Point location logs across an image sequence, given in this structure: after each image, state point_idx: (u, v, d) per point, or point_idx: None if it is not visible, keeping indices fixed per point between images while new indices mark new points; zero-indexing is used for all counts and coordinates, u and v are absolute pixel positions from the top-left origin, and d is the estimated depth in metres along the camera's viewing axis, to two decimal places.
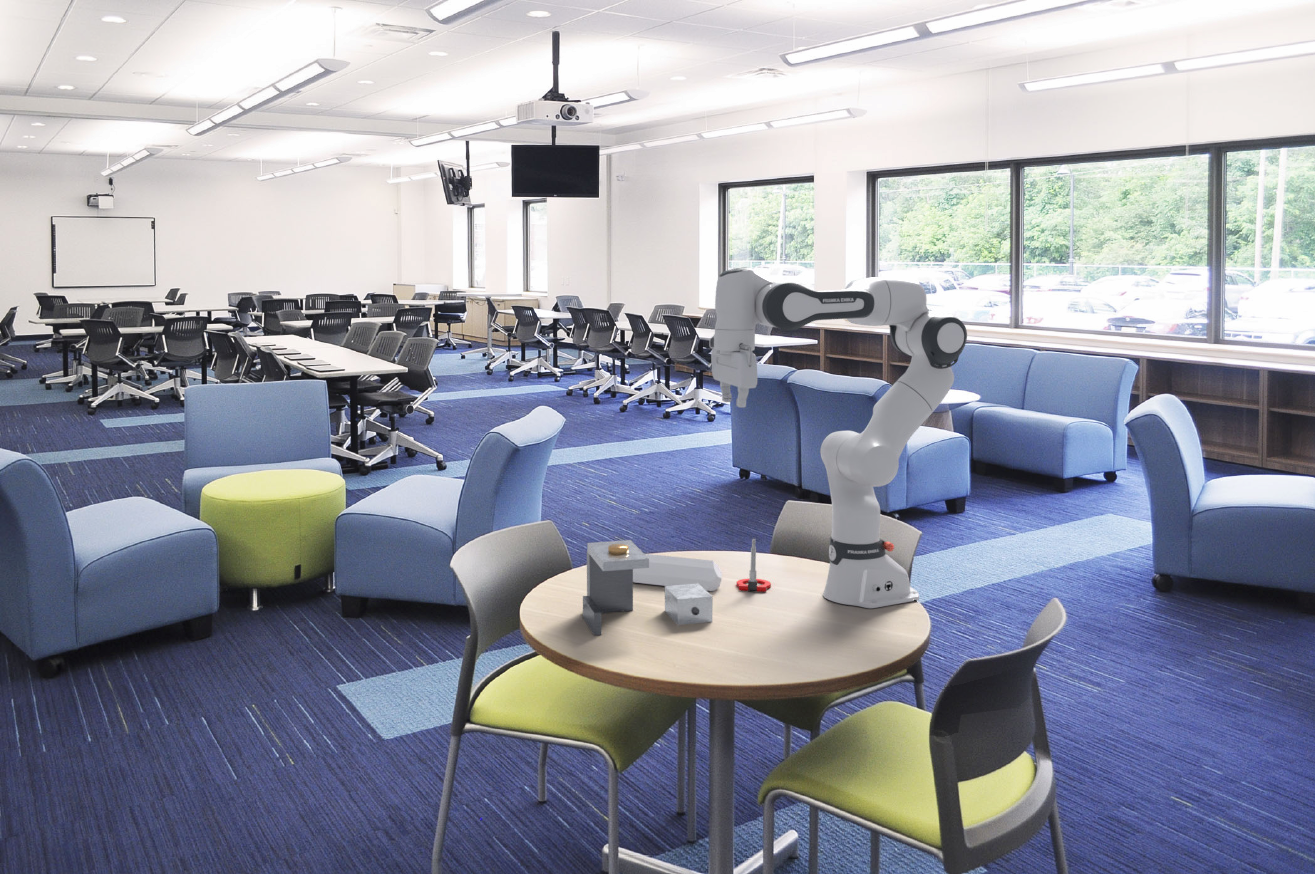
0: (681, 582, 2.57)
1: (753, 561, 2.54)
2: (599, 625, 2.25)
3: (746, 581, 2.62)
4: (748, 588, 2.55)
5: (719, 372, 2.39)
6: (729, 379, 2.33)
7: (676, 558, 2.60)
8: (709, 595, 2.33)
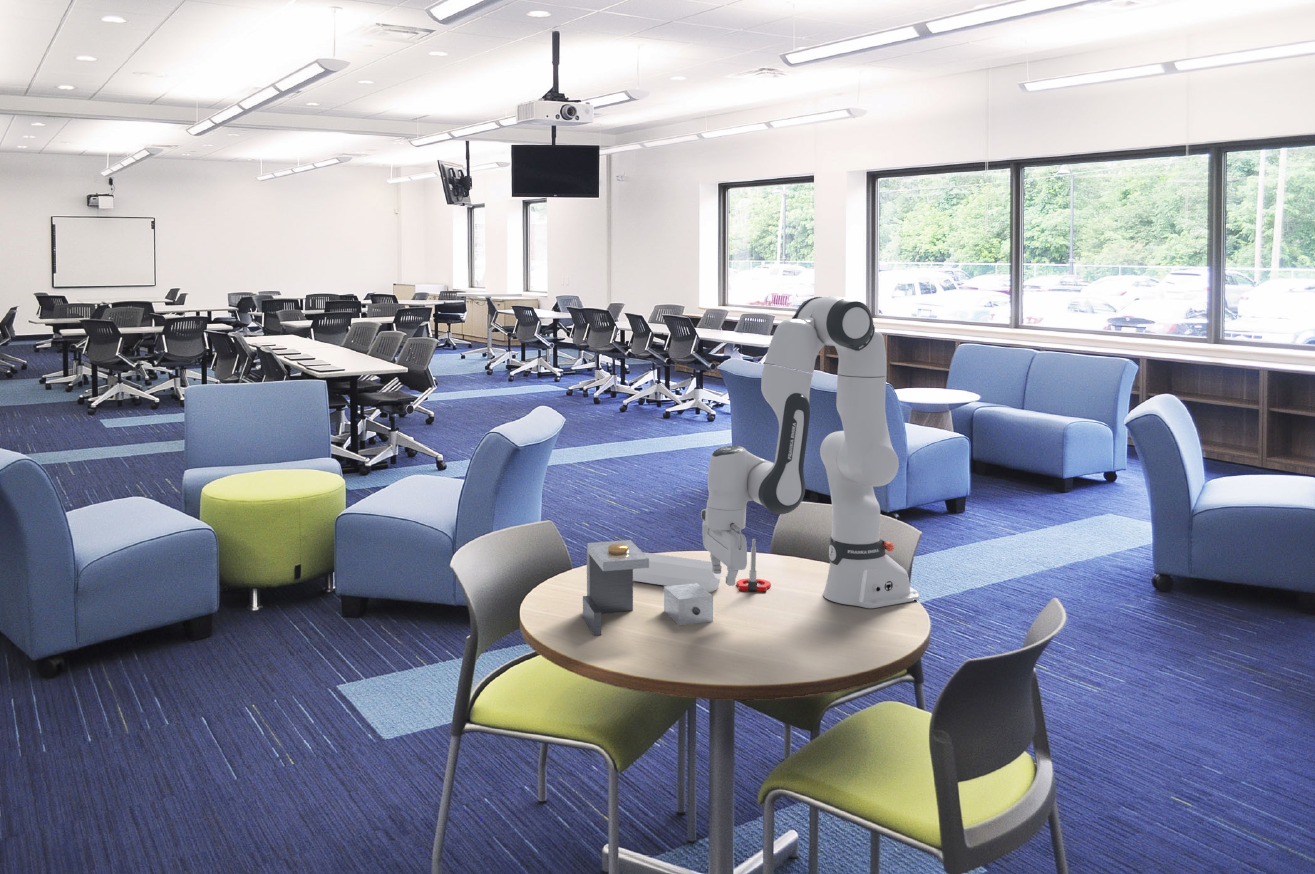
0: (679, 582, 2.57)
1: (753, 561, 2.54)
2: (599, 625, 2.25)
3: (746, 581, 2.62)
4: (748, 588, 2.55)
5: (710, 544, 2.41)
6: (719, 556, 2.35)
7: (676, 558, 2.60)
8: (709, 595, 2.34)
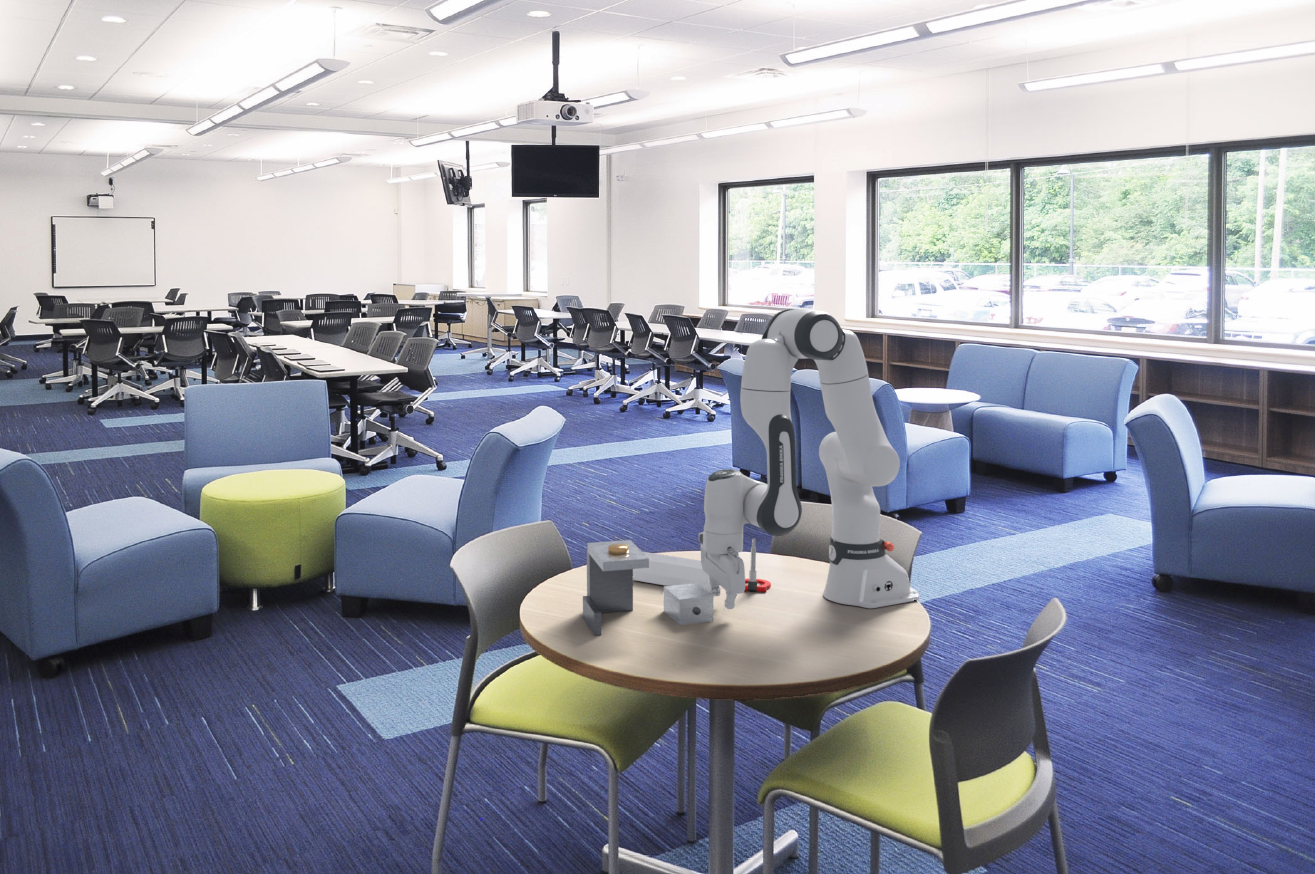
0: (678, 583, 2.57)
1: (753, 561, 2.54)
2: (599, 625, 2.25)
3: (746, 581, 2.62)
4: (748, 588, 2.55)
5: (708, 567, 2.42)
6: (717, 579, 2.36)
7: (676, 558, 2.60)
8: (710, 595, 2.34)
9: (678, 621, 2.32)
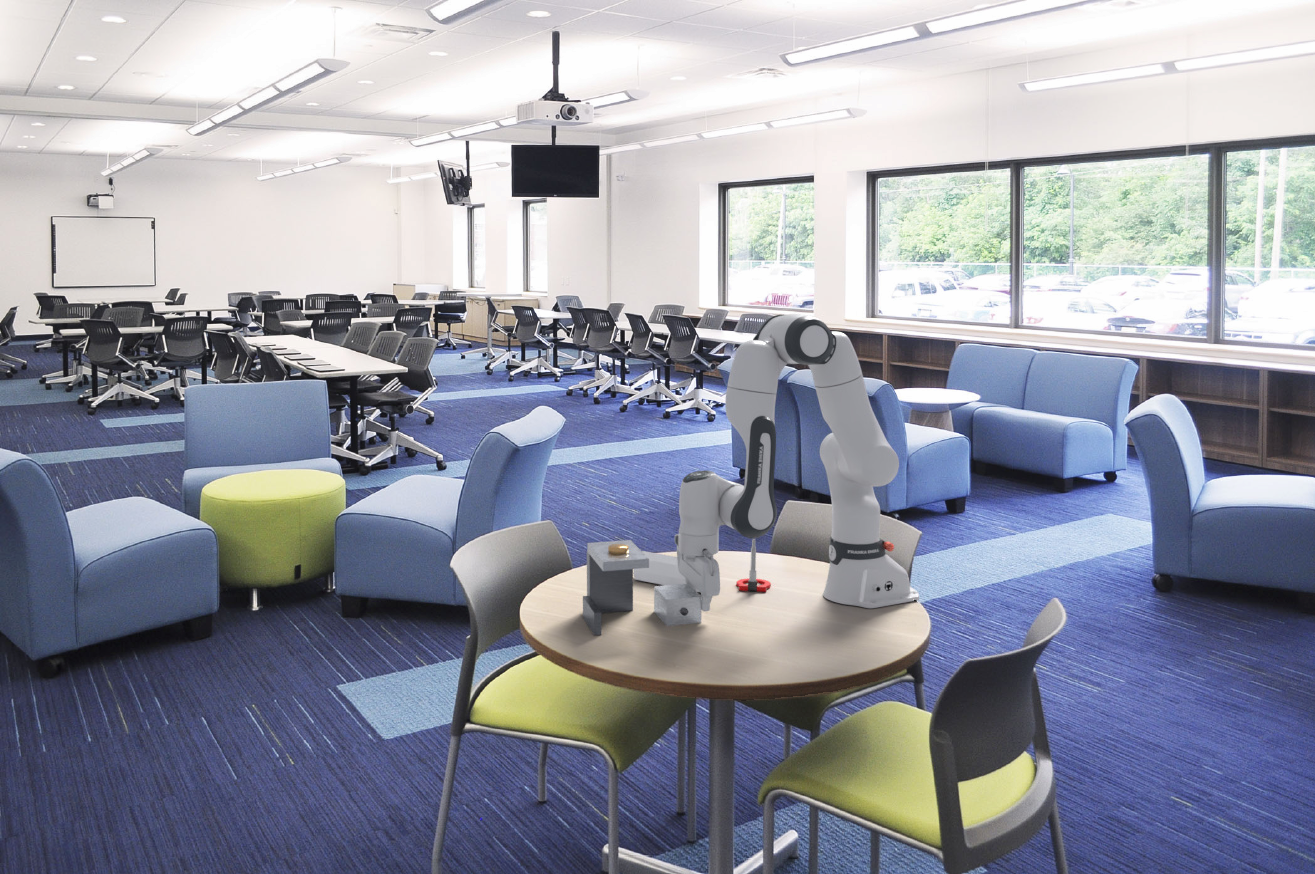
0: (678, 583, 2.57)
1: (753, 561, 2.54)
2: (599, 625, 2.25)
3: (746, 581, 2.62)
4: (748, 588, 2.55)
5: (684, 569, 2.40)
6: (693, 581, 2.34)
7: (676, 558, 2.60)
8: (698, 595, 2.33)
9: (665, 621, 2.31)
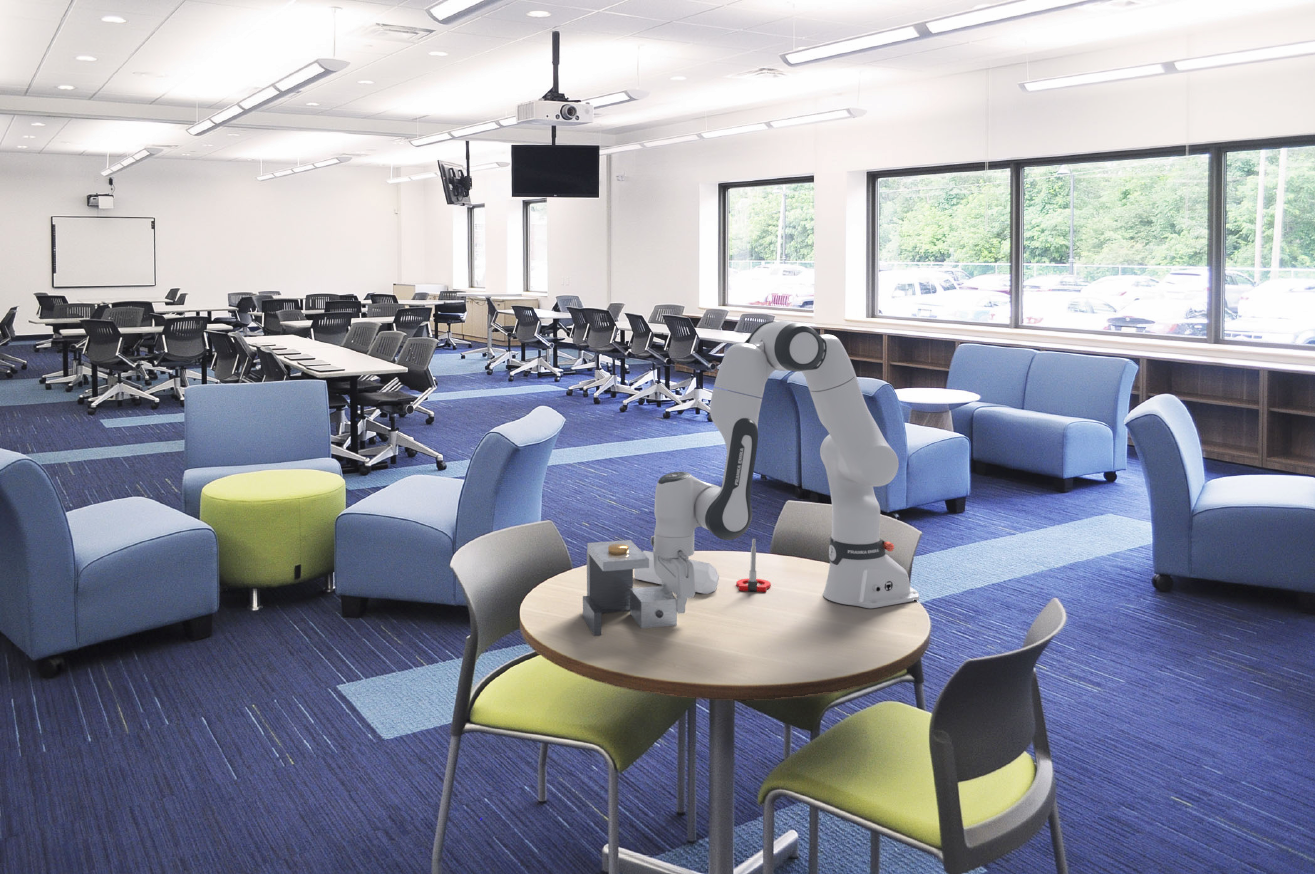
0: None
1: (753, 561, 2.54)
2: (599, 625, 2.25)
3: (746, 581, 2.62)
4: (748, 588, 2.55)
5: (660, 571, 2.39)
6: (668, 583, 2.33)
7: None
8: (673, 598, 2.31)
9: (640, 624, 2.30)
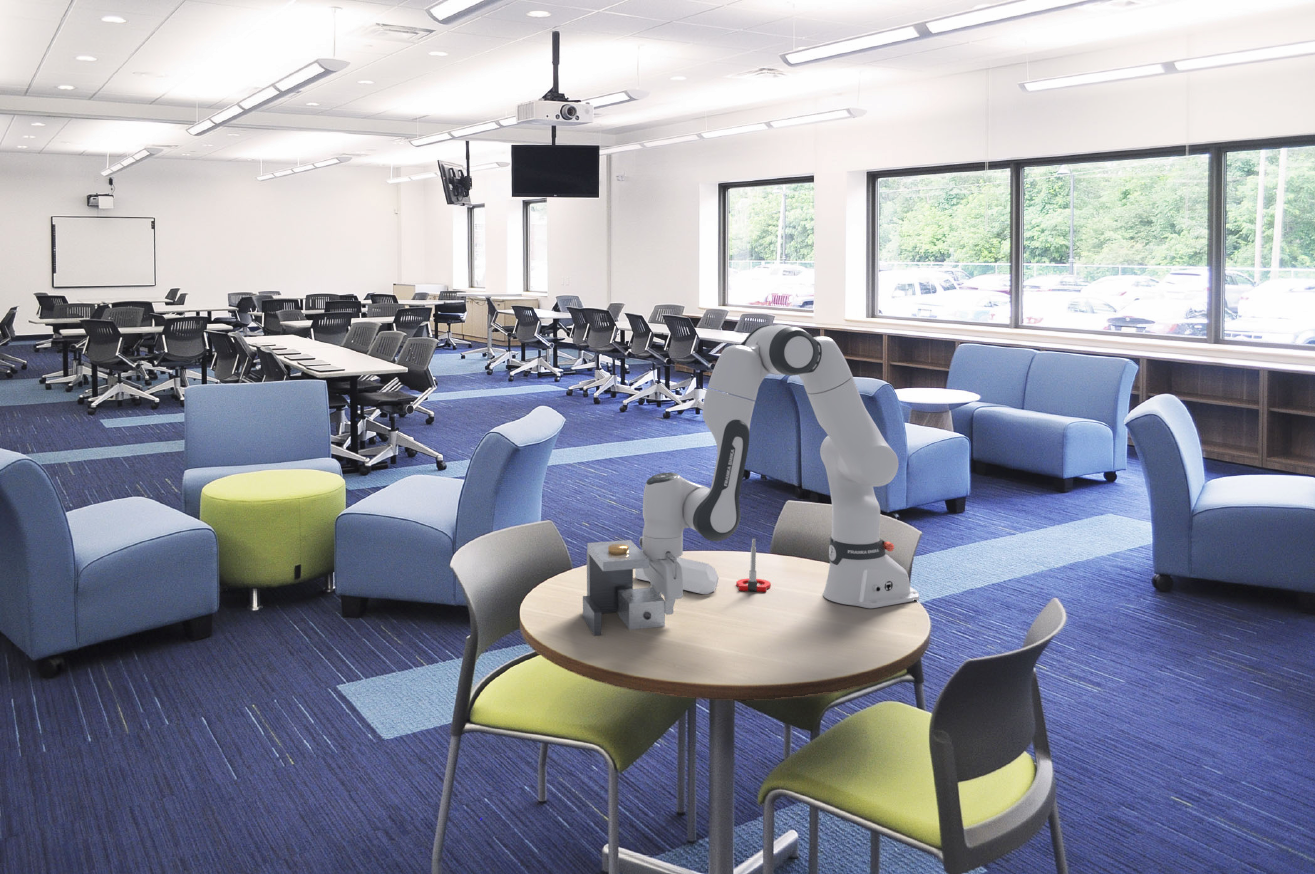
0: None
1: (753, 561, 2.54)
2: (599, 625, 2.25)
3: (746, 581, 2.62)
4: (748, 588, 2.55)
5: (649, 572, 2.38)
6: (656, 584, 2.32)
7: None
8: (661, 599, 2.31)
9: (628, 625, 2.29)
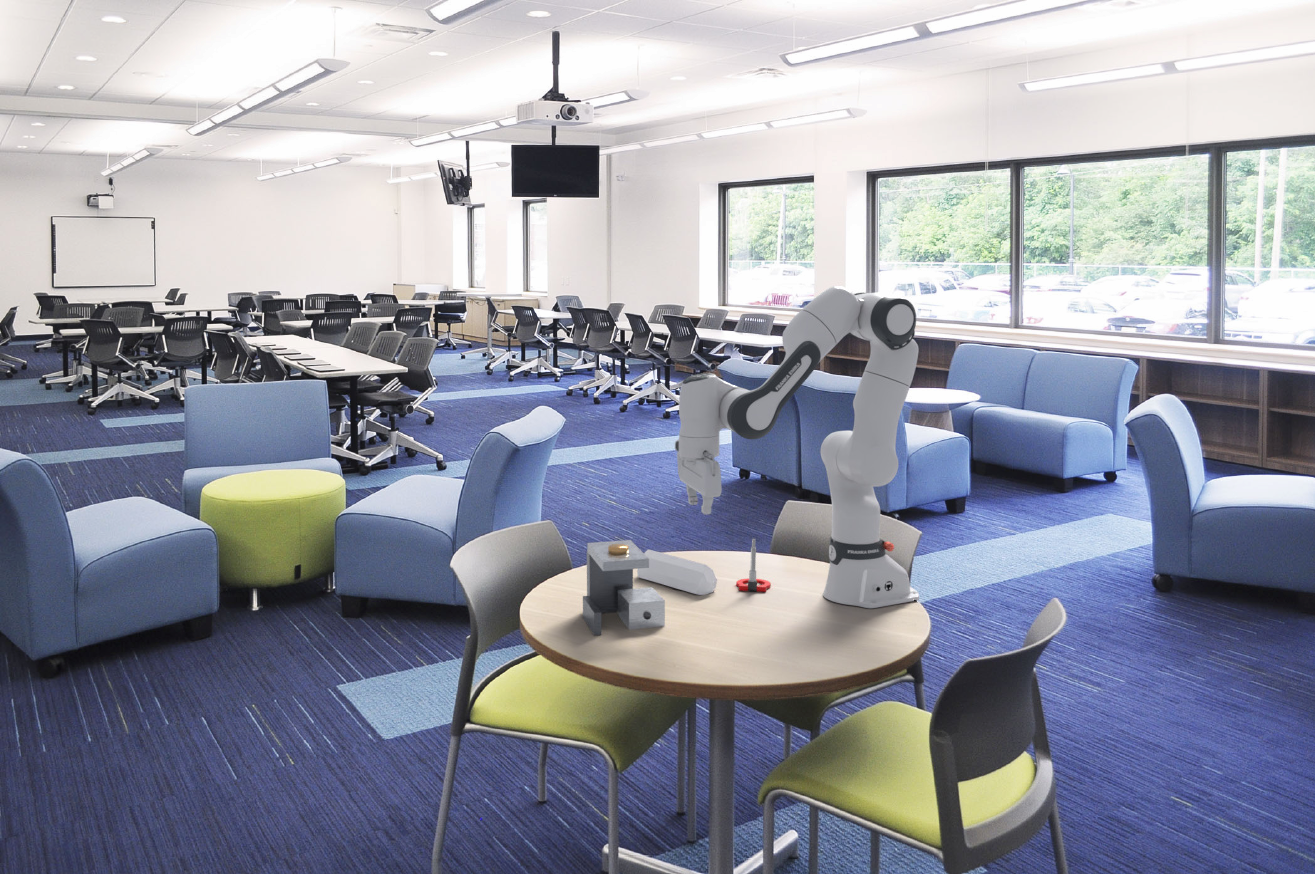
0: (674, 583, 2.57)
1: (753, 561, 2.54)
2: (599, 625, 2.25)
3: (746, 581, 2.62)
4: (748, 588, 2.55)
5: (685, 475, 2.38)
6: (694, 485, 2.32)
7: (676, 558, 2.60)
8: (661, 599, 2.31)
9: (628, 625, 2.29)
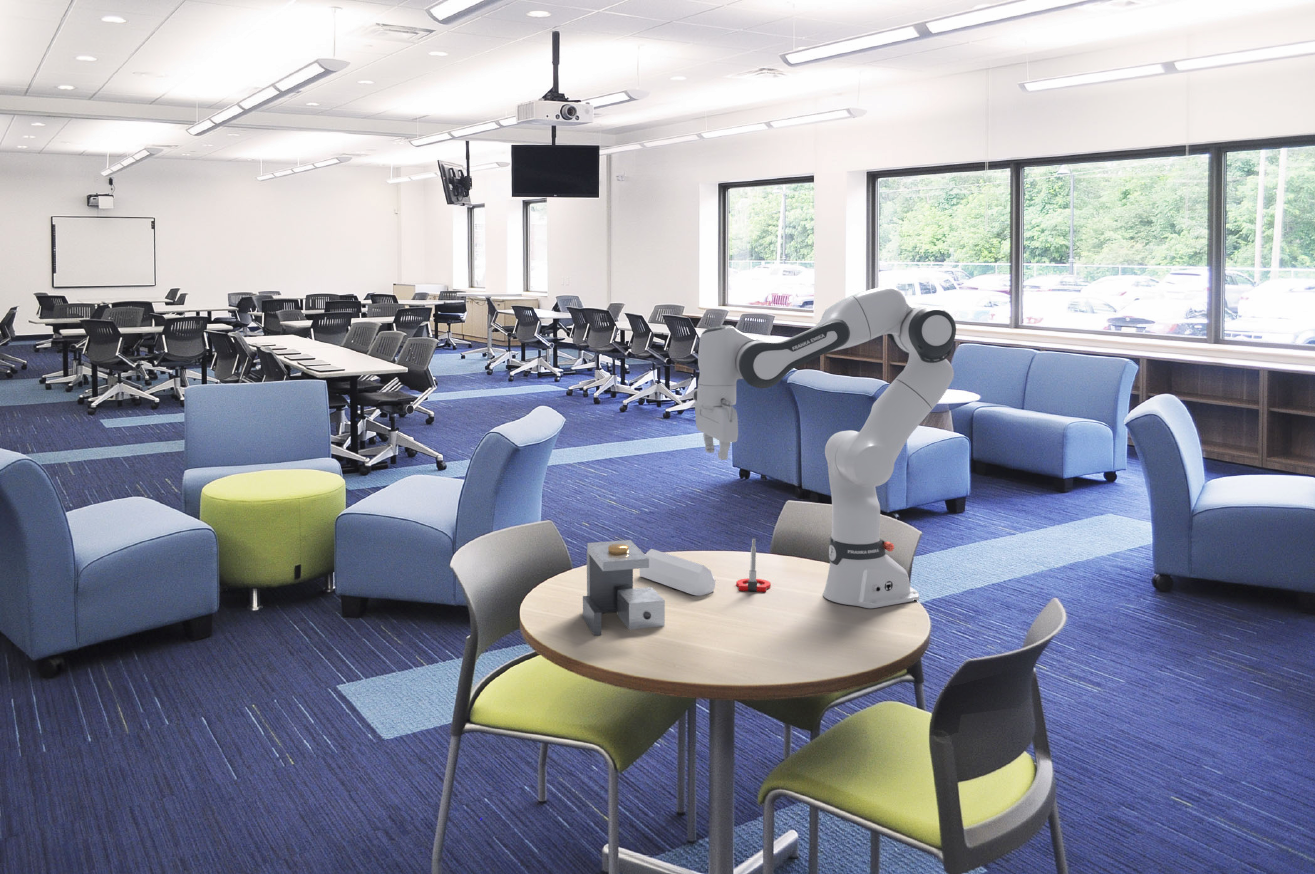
0: (673, 583, 2.57)
1: (753, 561, 2.54)
2: (599, 625, 2.25)
3: (746, 581, 2.62)
4: (748, 588, 2.55)
5: (702, 424, 2.48)
6: (711, 432, 2.42)
7: (676, 558, 2.60)
8: (661, 599, 2.31)
9: (628, 625, 2.29)
